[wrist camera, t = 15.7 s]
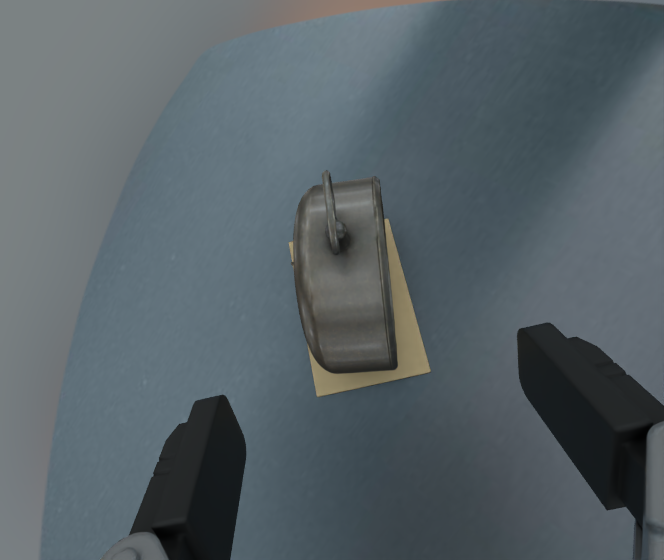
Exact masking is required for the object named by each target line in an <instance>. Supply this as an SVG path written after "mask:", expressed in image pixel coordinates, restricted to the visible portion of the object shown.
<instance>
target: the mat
mask: <svg viewBox="0 0 664 560" xmlns="http://www.w3.org/2000/svg"><path fill="white" fill-rule="evenodd" d="M384 222H385V232H386V242H387V252H388V261H389V270H390V279H391V290H392V300H393V310H394V321H395V336H396V343H397V360H398V367H397V368H396V369H395V370H390V371H374V372H360V373H344V374H333V373H330V372H328V371H326V370H325V369H323V368H322V367H321V366H320V365H319V364H318V363H317V361H316V360H315V359H314V357H313V355H312V353H311V351H310V349H309V346H308V351H309V356H310V361H311V367H312V372H313V378H314V383H315V389H316V394H317V397H321V396H325V395H330V394H335V393H339V392H344V391H348V390H353V389H357V388H362V387H367V386H371V385H376V384H380V383H385V382H389V381H394V380H399V379H403V378H408V377H412V376H417V375H421V374H426V373H430V372H431V370H430V367H429V363H428V359H427V356H426V352H425V349H424V345H423V341H422V338H421V334H420V331H419V327H418V324H417V320H416V316H415V313H414V309H413V306H412V302H411V299H410V295H409V291H408V288H407V284H406V281H405V277H404V274H403V270H402V266H401V263H400V259H399V256H398V252H397V248H396V245H395V241H394V238H393V234H392V231H391V227H390V223H389V220H388V219H385V220H384ZM289 247H290V252H291V258H292V262H294V261H293V241H292V242H289ZM293 269H294V265H293ZM307 345H308V344H307Z"/></svg>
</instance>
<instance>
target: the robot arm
mask: <svg viewBox="0 0 664 560" xmlns="http://www.w3.org/2000/svg"><path fill="white" fill-rule="evenodd" d="M517 343H518V368H519V379H520V383H521V386H522V389H523V391H524V393H525V395H526V397H527V398H528V400H529V401H530V403H531V404H532V406H533V407H534V408H535V410H536V411H537V413H538V414H539V415H540V417H541V418H542V420H543V421H544V422H545V424H546V425H547V427H548V428H549V429H550V431H551V432H552V434H553V435H554V437H555V438H556V439H557V441H558V442H559V444H560V445H561V446H562V448H563V449H564V451H565V452H566V453H567V455H568V456H569V458H570V459H571V460H572V462H573V463H574V465H575V466H576V467H577V469H578V470H579V472H580V473H581V475H582V476H583V477H584V479H585V480H586V482H587V483H588V484H589V486H590V487H591V489H592V490H593V491H594V493H595V494H596V496H597V497H598V498H599V500H600V501H601V503H602V504H603V505H604V507H605V508H606V510H611V509H616V508H621V507H627V508H628V510H629V511H630V512H631V514H632V515H633V516H634V518H635V525H634V544H633V560H664V406H663V405H662V404H661V403H660V402H659V401H658V400H657V399H656V398H654V397H653V396H652V395H651V394H650V393H649V392H648V391H647V390H645V389H644V388H643V387H642V386H641V385H640V384H639V383H638V382H637V381H635V380H634V379H633V378H632V377H631V376H630V375H626V373H625V371H624V370H623V369H622V368H621V367H620V366H619V365H617V364H616V363H613V360H612V359H611V358H610V357H609V356H607V355H606V354H605V353H604V352H603V351H602V350H601V349H600V348H598V347H597V346H595V345H593V344H591V343H589V342H587V341H584V340H582V339H580V338H578V337H572V338H568V339H567V338H566V337H565V336H564V335H563V334H562V333H561V332H560V331H559V330H558V329H557V328H556V327H555V326H554V325H552V324H551V323H543V324H539V325H534V326H530V327H526V328H521V329H519V330H518V333H517ZM245 461H246V444H245V439H244V435H243V433H242V430H241V428H240V426H239V424H238V421H237V419H236V417H235V415H234V412H233V410H232V408H231V406H230V403H229V401H228V399H227V398H226V396H225V395H219V396H215V397H210V398H206V399H201V400H197V401H195V403H194V404H193V407H192V410H191V413H190V416H189V418H188V421H187V422H186V423H182V424H179V425H178V426H177V427H176V429H175V430H174V431H173V432H172V434H171V435H170V436H169V437H168V439H167V440H166V442H165V444H164V447H163V449H162V452H161V454H160V457H159V462H157V465H156V467H155V470H154V472H153V474H154V476H153V477H152V478H151V480H150V483H149V485H148V488H147V490H146V493H145V495H144V498H143V501H142V503H141V506H140V508H139V511H138V513H137V516H136V519H135V521H134V524H133V526H132V529H131V531H130V534H129V536H127V537H125V538H123V539H122V540H120V541H119V542H117V543H116V544H115V545H114V546H112V547H111V548H110V549H109V550H108V551H107V552H106V553H105V554H104V555H103V557H102V558H101V559H100V560H230V557H231V551H232V544H233V538H234V531H235V525H236V519H237V512H238V506H239V500H240V493H241V487H242V481H243V474H244V468H245Z"/></svg>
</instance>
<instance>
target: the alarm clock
mask: <svg viewBox="0 0 664 560" xmlns="http://www.w3.org/2000/svg"><path fill="white" fill-rule="evenodd" d="M322 180H323V184H321V185H316V186H313V187H311V188H310V189H308V191H307V192H306V193H305V194H304V195H303V197H302V199H301V201H300V203H299V205H298V209H297V212H296V217H295V224H294V236H293V261H294V262H291V265H292V266H293V265H294V278H295V287H296V295H297V302H298V308H299V314H300V318H301V323H302V327H303V331H304V334H305V338H306V341H307V344H308V346H309V349H310V351H311V353H312V355H313V357H314V359H315V360H316V361H317V363H318V364H319V365H320V366H321V367H322V368H323V369H325V370H326V371H328V372H330V373H333V374H344V373H360V372H374V371H390V370H395V369H396V368H397V367H398V360H397V343H396V336H395V321H394V310H393V300H392V290H391V279H390V270H389V261H388V252H387V242H386V232H385V222H384V214H383V204H382V198H381V187H380V180H379V179H378V178H377V177H375V176H373V177H371V178H365V179H358V180H350V181H343V182H335V183H332V181H331V177H330V172H329V171H327V170H326V171H324V172H323V173H322Z"/></svg>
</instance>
